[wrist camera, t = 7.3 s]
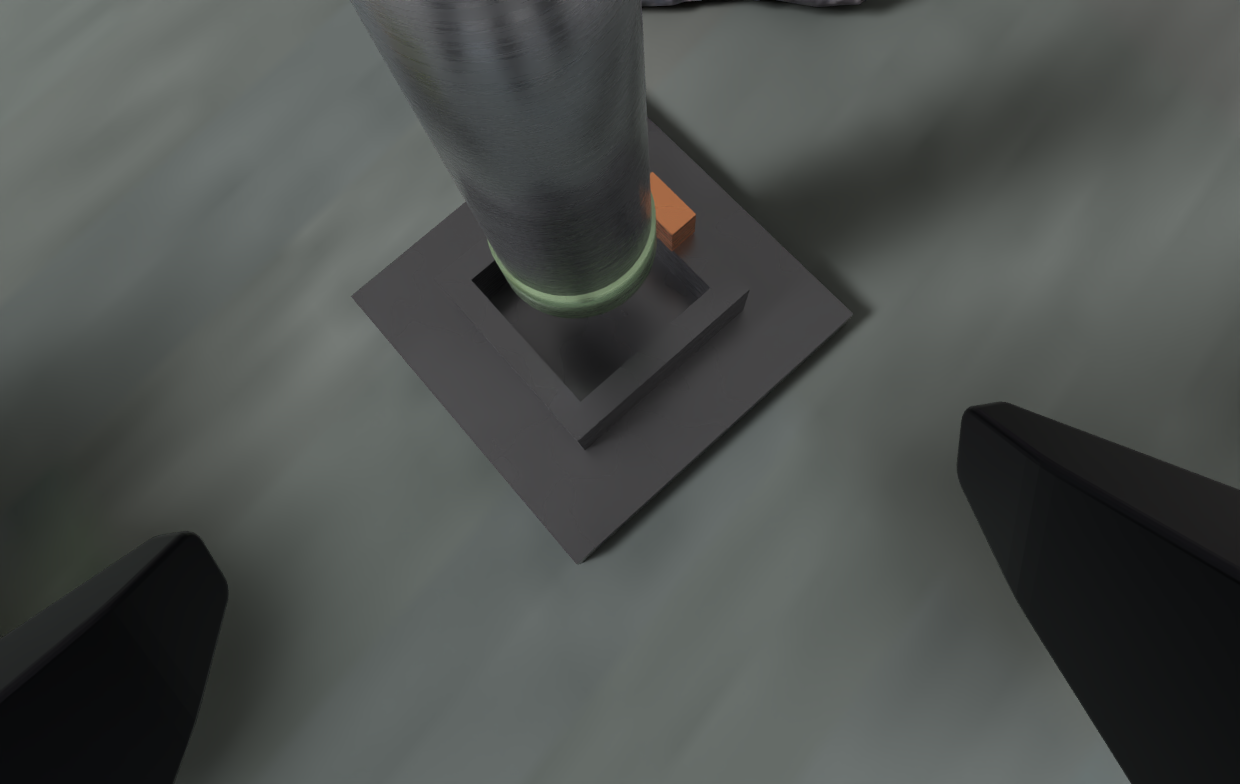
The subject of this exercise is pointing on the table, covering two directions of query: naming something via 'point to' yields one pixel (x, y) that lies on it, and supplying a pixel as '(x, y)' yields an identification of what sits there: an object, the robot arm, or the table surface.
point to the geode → (808, 0)
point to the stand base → (607, 351)
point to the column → (536, 134)
